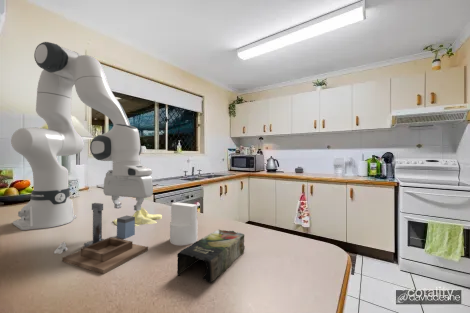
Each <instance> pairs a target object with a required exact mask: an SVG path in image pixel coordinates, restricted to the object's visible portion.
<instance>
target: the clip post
mask: <svg viewBox="0 0 470 313" xmlns="http://www.w3.org/2000/svg"><path fill="white" fill-rule="evenodd" d="M91 210H92V240H91V241H88V242H84V244H83V247H86V246H89V245H91V244H94V243H97V242H99V241H102V240H105V239H106V238H103V237H102V236H103V235H102V233H103V232H102V230H103V229H102V228H103V227H102V226H103V218H102V217H103V211H104V203H101V202H100V203H99V202H94V203H91Z"/></svg>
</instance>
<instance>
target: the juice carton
mask: <svg viewBox="0 0 470 313" xmlns="http://www.w3.org/2000/svg"><path fill="white" fill-rule="evenodd" d="M245 247H246V246H245V234H244V233H242V232H238V231H237V232H236V231H234V230H224V229H217V230H214V231H213V232H211V233H209V234H207V235H206V236H204V237H202V238H200V239H198V240H197V241H196V242H194V243H192V244H190V245H189V246H187V247H185V248H183V249H182V250H180V251H179V252H178V253H177V254H176V255H177V264H176V265H177V268H176V269H177V271H176V274H177V276H178V277H181V275H180V274H181V273H183V272H184V271H185V270H187V269H188V268H190V267H191V266H192V265H194V264H195V263H196V262H198V261H204V263H205V265H206V270H205V274H204V275H203V276H202V279H203V281H206V282H208V283H210V284H211V283H212V281H216V280H217V278H218V277H220V276H221V275H222V273H225V272H226V270H227V269H229V267H230V266H232V264H233V263H234V262H235V261H236V260H237V259H238V258H239V257H241V255H242V254H244V252H245V249H246V248H245Z"/></svg>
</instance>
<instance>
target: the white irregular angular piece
mask: <svg viewBox="0 0 470 313" xmlns="http://www.w3.org/2000/svg"><path fill="white" fill-rule="evenodd" d="M68 250H69V249H68V247H67V243H66V241H63V242H61V243H60V244H58V246H57V248H55V249H54V252H53V254H59V255H60V254H63V252H64V251H65V252H66V251H68Z"/></svg>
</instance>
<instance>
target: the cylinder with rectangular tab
mask: <svg viewBox="0 0 470 313" xmlns="http://www.w3.org/2000/svg"><path fill="white" fill-rule="evenodd" d="M170 207H171V208H170V209H171V210H170V214H171V215H170V217H171V219H170V220H171V221H170V223H169V226H170V227H169V242H170V244H172V245H174V246H188V245H189V246H190V245H192V244H193V243H195V242H196V241H198V226H199V224H198V204H194V203H186V202H179V201H177V202H172V203H171V206H170Z"/></svg>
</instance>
